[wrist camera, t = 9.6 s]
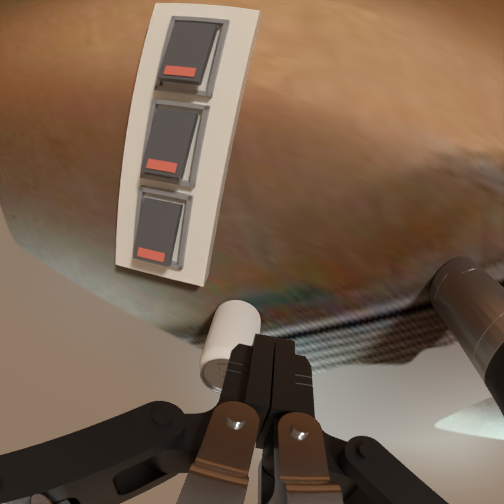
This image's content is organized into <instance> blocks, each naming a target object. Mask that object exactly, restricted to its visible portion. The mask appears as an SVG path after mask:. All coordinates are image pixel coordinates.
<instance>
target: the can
mask: <svg viewBox="0 0 504 504" xmlns="http://www.w3.org/2000/svg"><path fill="white" fill-rule="evenodd" d="M260 323H261V320H260V315H259V313H258V311H257V310H256V309H255V307H253V306H252V305H251V304H249V303H247V302H244V301H240V300H231V301H227V302H225V303H223V304H221V305H220V306H219V307H218V308H217V310H216V312H215V314H214V317H213V320H212V323H211V326H210V330H209V333H208V336H207V339H206V342H205V345H204V349H203V352H202V355H201V359H200V370H201V372H200V376H201V379H202V381H203V383H204V384H205V385H206V386H207V387H208V388H209V389H211V390H213V391H215V392H217V393H220V394H221V391H222V387H223V383H224V379H225V374H226V371H227V366H228V362H229V358H230V354H231V351H232V350H233V349H234V348H235V347H236V346H237V345H238V344H239V343H240V344H245V345H249V346H252V344H253V340H254V336H255V333H256V334H260Z"/></svg>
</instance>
